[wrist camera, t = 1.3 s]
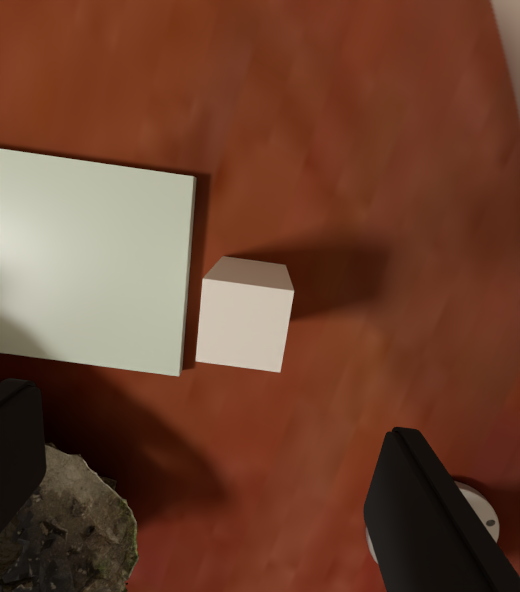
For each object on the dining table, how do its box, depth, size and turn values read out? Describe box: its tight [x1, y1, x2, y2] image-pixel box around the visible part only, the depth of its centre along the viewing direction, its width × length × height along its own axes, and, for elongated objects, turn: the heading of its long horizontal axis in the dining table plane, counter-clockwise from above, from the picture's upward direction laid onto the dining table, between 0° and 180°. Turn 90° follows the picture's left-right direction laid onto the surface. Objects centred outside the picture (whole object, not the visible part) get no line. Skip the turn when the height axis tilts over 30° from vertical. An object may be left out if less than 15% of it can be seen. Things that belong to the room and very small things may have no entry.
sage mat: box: [0, 149, 197, 376], centre depth 24 cm, size 16×16×1 cm
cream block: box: [196, 256, 294, 372], centre depth 21 cm, size 5×5×8 cm
